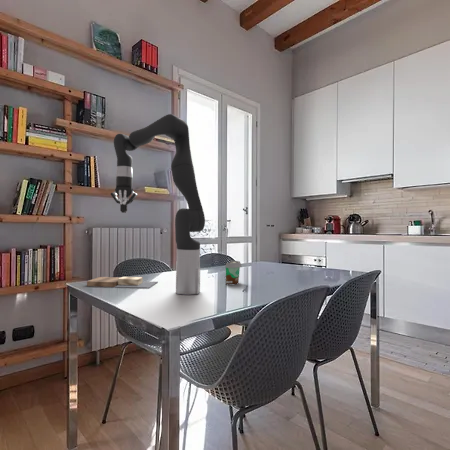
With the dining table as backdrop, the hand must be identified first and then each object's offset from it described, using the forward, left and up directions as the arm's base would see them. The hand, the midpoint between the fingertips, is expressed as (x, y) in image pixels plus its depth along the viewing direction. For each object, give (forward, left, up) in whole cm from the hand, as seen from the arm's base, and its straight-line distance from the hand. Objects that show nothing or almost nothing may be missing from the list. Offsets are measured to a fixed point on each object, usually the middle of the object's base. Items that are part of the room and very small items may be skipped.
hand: (123, 212), depth 158 cm
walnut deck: (+2, +14, -32) cm, 35 cm away
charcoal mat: (-12, +14, -32) cm, 37 cm away
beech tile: (-9, +13, -32) cm, 35 cm away
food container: (-54, +2, -32) cm, 63 cm away
